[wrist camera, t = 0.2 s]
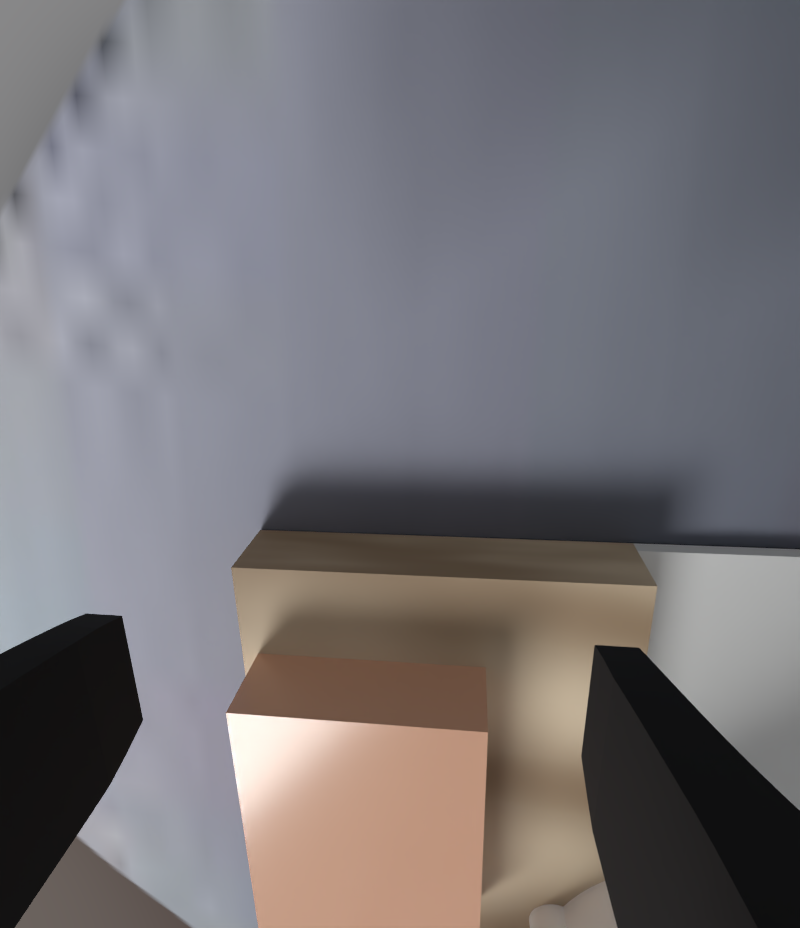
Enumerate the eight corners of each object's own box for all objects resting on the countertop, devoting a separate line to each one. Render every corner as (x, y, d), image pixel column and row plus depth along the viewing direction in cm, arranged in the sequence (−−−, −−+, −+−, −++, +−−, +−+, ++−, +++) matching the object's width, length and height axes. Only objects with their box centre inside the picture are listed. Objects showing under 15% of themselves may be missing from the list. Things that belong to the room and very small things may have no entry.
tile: (476, 899, 20) (477, 981, 18) (285, 878, 21) (262, 955, 19) (485, 667, 17) (487, 732, 15) (258, 653, 18) (225, 712, 16)
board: (586, 897, 23) (599, 969, 21) (297, 867, 25) (279, 931, 22) (633, 543, 18) (657, 586, 16) (260, 529, 19) (231, 567, 17)
